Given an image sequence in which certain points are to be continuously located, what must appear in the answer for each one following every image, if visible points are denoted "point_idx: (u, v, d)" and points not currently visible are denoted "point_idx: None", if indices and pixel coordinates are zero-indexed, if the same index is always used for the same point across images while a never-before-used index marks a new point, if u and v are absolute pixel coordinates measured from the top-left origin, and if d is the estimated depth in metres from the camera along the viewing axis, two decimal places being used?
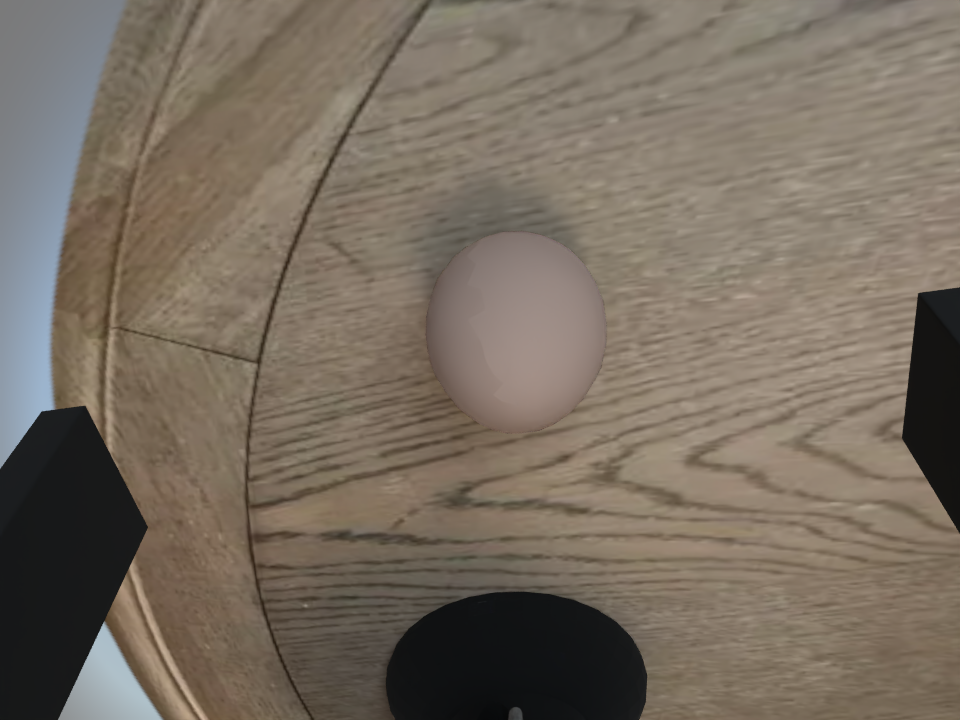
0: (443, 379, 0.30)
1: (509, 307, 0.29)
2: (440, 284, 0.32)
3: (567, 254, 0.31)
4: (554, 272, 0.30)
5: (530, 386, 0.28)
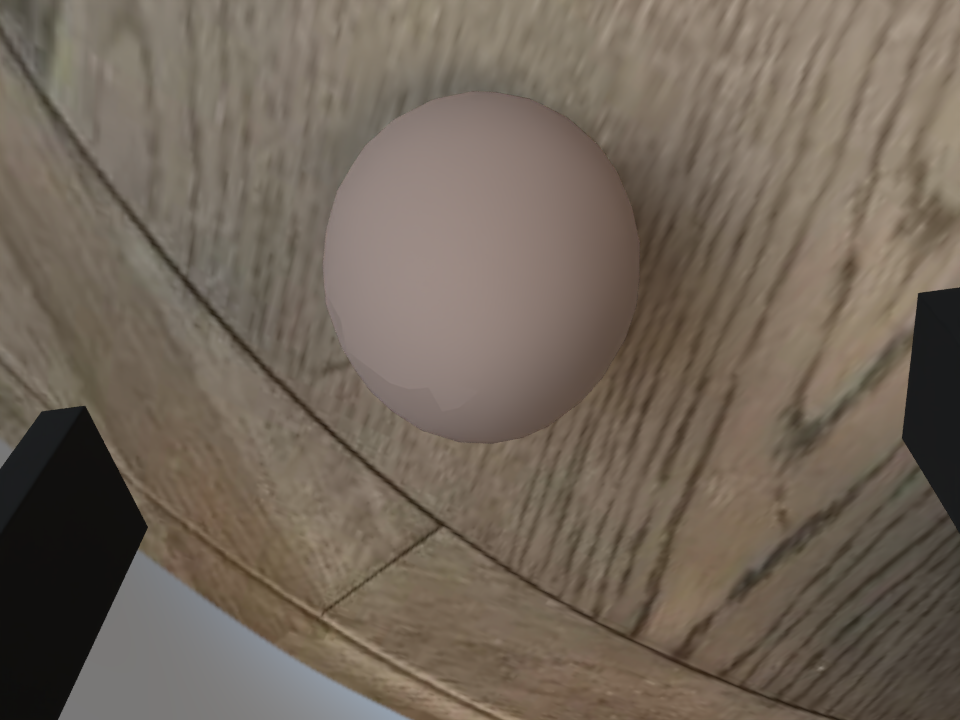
0: None
1: (349, 285, 0.16)
2: None
3: (403, 118, 0.18)
4: (375, 167, 0.17)
5: (455, 353, 0.15)
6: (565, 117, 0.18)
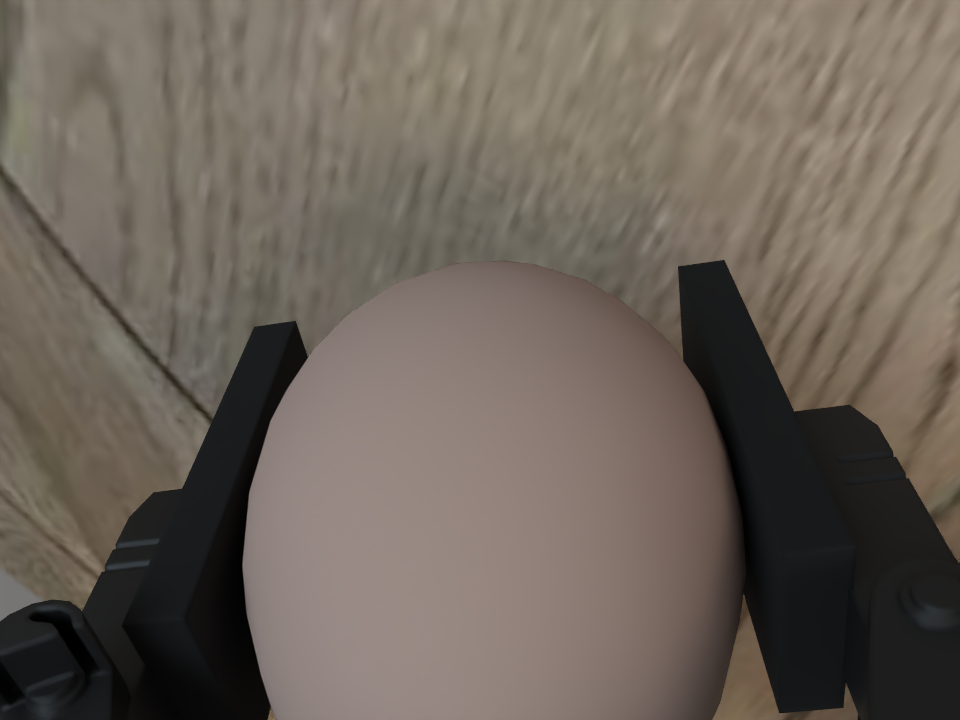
0: None
1: (272, 636, 0.09)
2: None
3: (371, 319, 0.11)
4: (320, 423, 0.10)
5: None
6: (626, 312, 0.12)
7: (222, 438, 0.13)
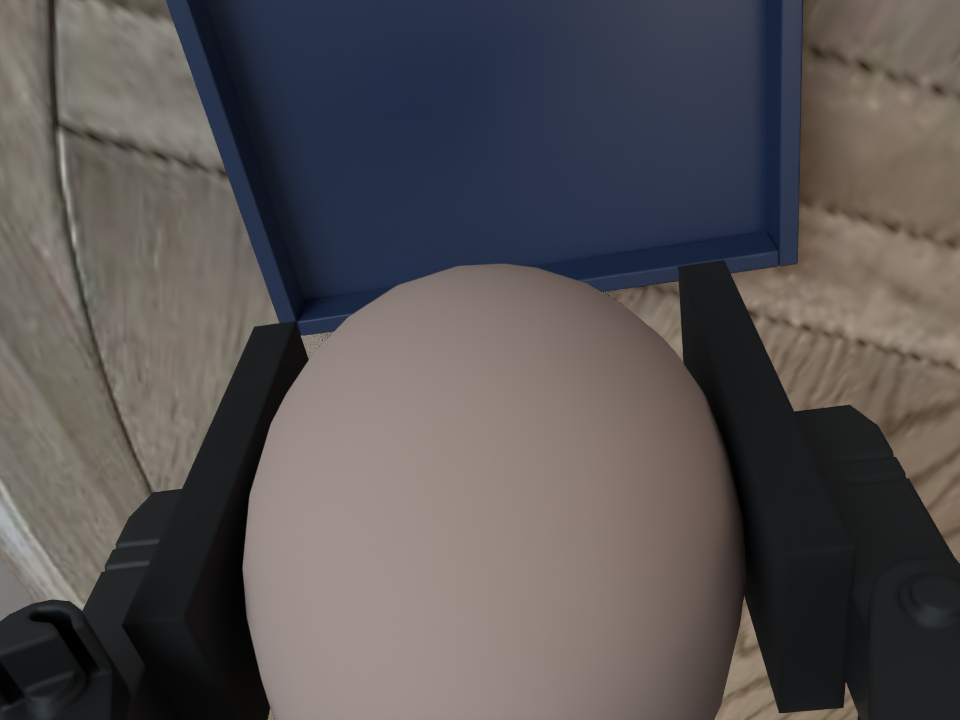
0: None
1: (272, 640, 0.09)
2: None
3: (371, 322, 0.11)
4: (321, 426, 0.10)
5: None
6: (626, 315, 0.12)
7: (222, 438, 0.13)
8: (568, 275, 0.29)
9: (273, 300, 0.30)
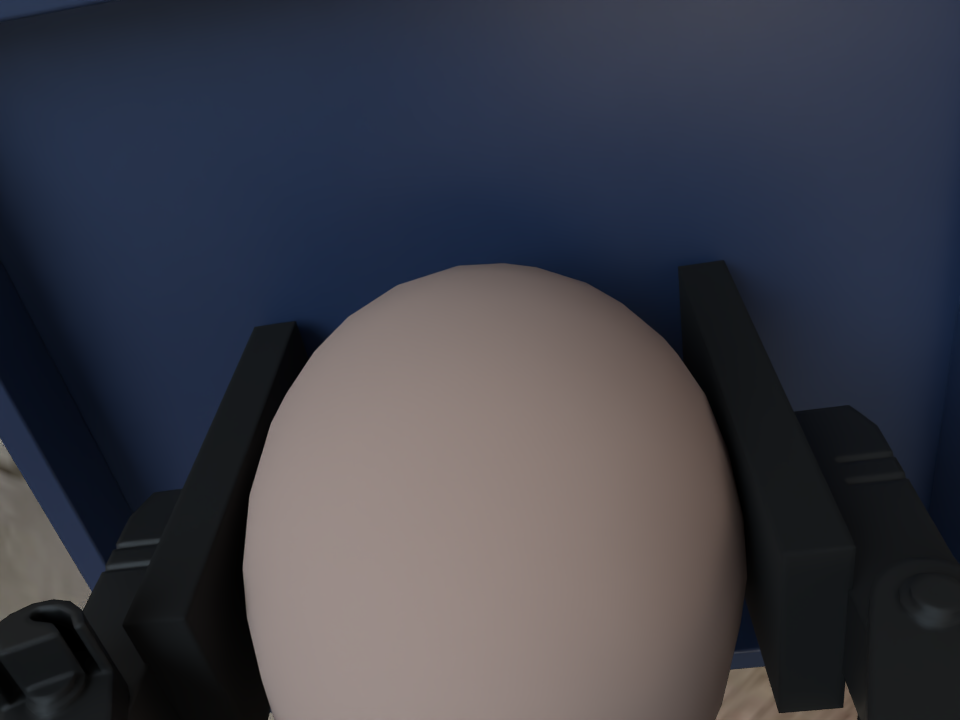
0: None
1: (272, 641, 0.09)
2: None
3: (371, 322, 0.11)
4: (321, 426, 0.10)
5: None
6: (626, 315, 0.12)
7: (222, 438, 0.13)
8: None
9: None
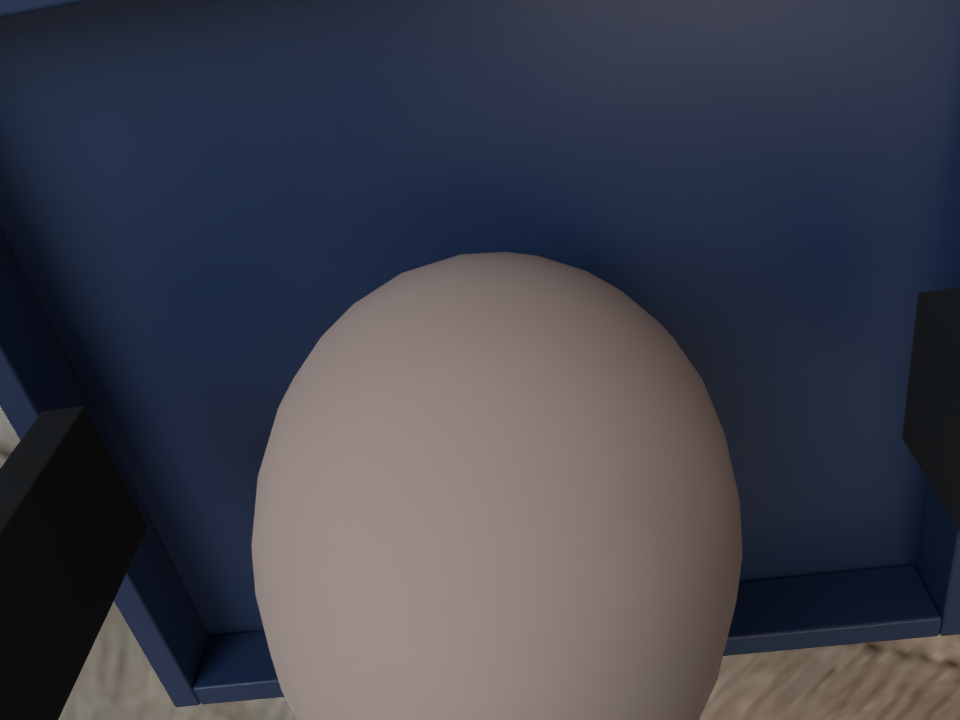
0: None
1: (281, 614, 0.10)
2: None
3: (376, 308, 0.11)
4: (328, 408, 0.10)
5: None
6: (625, 301, 0.12)
7: None
8: None
9: (153, 665, 0.19)
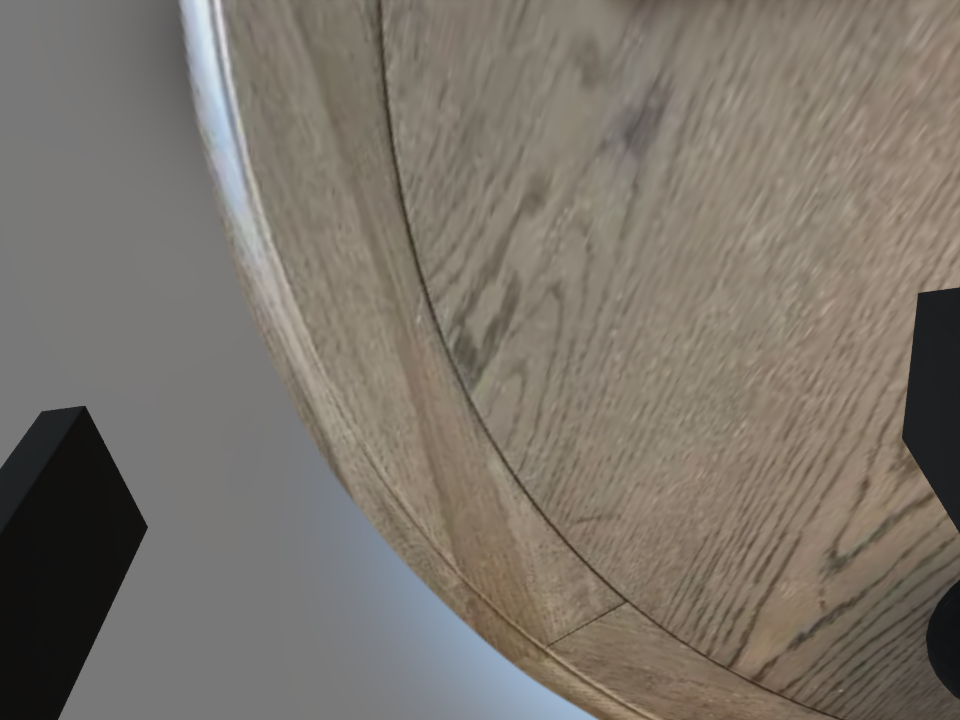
0: None
1: None
2: None
3: None
4: None
5: None
6: None
7: None
8: None
9: None
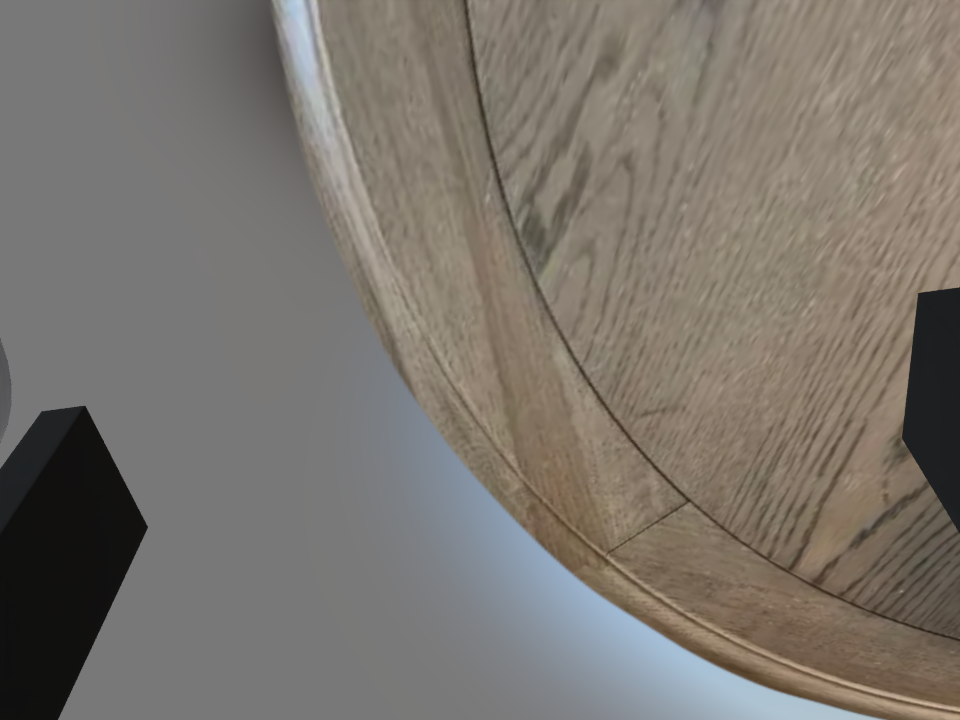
0: None
1: None
2: None
3: None
4: None
5: None
6: None
7: None
8: None
9: None
